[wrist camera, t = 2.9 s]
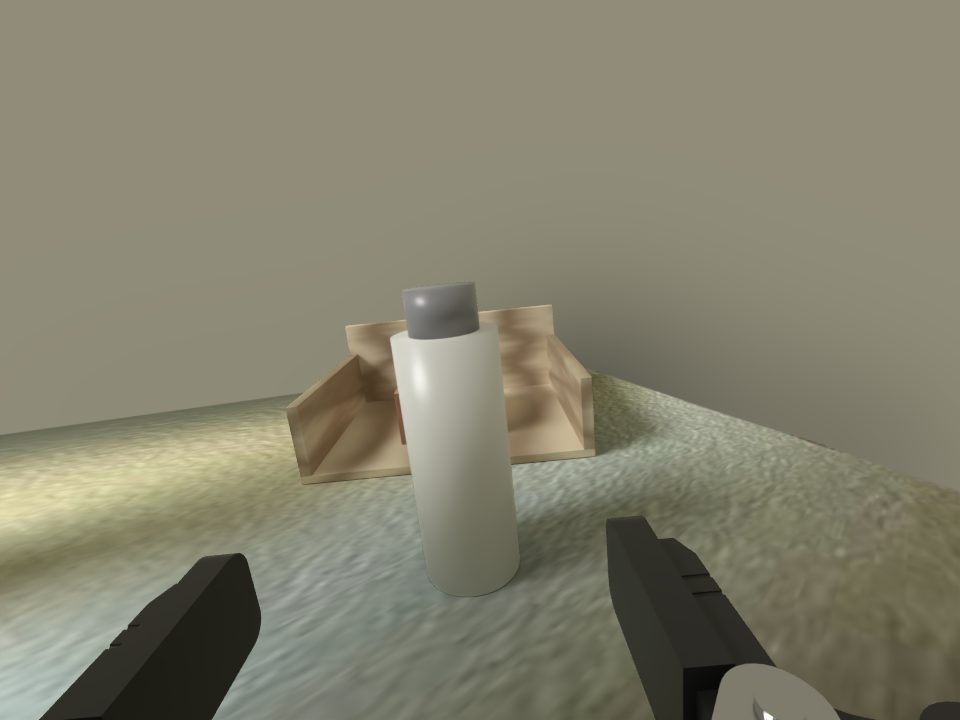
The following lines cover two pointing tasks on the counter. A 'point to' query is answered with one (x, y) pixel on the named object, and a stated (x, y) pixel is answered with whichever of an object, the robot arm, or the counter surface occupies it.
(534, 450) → the wooden tray
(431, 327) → the white plastic bottle
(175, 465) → the counter surface
